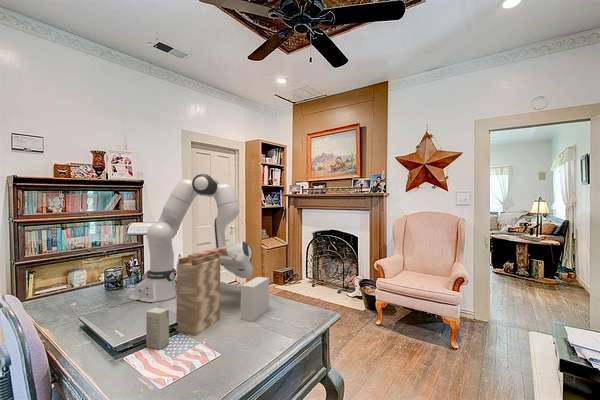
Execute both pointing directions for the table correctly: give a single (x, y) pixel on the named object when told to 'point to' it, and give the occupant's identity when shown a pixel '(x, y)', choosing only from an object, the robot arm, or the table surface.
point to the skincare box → (157, 328)
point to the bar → (207, 253)
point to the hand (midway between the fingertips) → (218, 252)
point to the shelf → (254, 298)
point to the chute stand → (198, 293)
